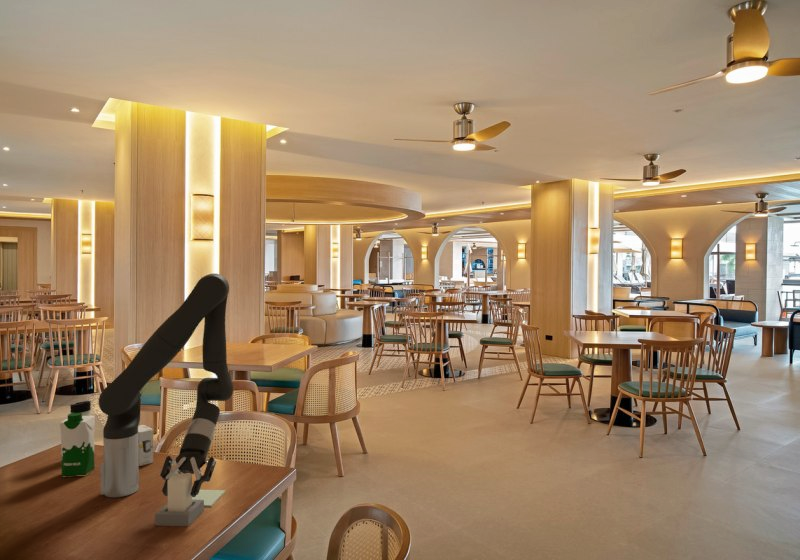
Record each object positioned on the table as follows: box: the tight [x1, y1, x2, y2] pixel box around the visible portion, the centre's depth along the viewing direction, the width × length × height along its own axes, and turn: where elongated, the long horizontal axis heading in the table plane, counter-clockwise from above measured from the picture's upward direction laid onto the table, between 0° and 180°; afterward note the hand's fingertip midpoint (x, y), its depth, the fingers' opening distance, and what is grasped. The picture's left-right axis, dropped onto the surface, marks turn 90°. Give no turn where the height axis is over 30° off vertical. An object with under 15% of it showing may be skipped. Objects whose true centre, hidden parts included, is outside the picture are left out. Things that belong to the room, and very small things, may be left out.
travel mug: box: [69, 400, 92, 416], centre depth 187 cm, size 6×7×20 cm
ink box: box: [138, 424, 154, 467], centre depth 182 cm, size 9×5×12 cm, turn 50°
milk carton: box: [59, 413, 96, 477], centre depth 172 cm, size 9×9×20 cm
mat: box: [192, 489, 227, 508], centre depth 153 cm, size 9×10×1 cm
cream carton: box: [167, 473, 193, 512], centre depth 141 cm, size 4×4×11 cm
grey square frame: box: [154, 500, 205, 527], centre depth 141 cm, size 9×9×3 cm
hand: (179, 495), depth 140 cm, fingers open, 7 cm apart
